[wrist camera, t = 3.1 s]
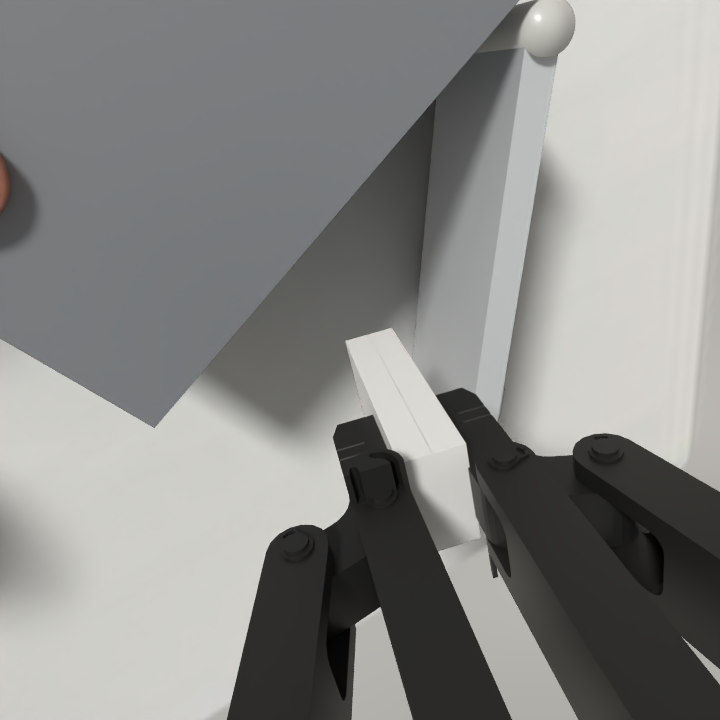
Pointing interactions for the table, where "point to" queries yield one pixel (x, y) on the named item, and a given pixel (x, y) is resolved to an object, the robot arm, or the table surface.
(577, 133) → the table surface
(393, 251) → the table surface
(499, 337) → the side door
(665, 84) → the table surface
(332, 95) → the camera body
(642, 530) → the robot arm
